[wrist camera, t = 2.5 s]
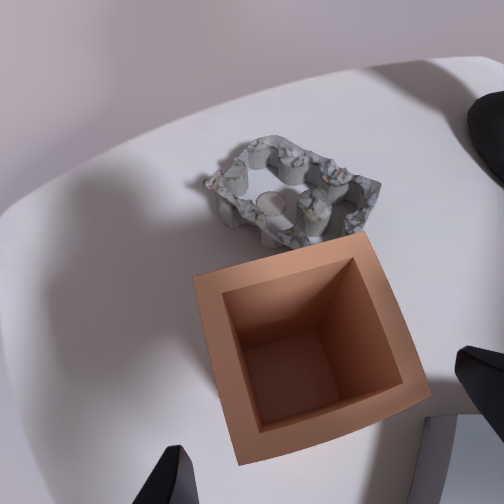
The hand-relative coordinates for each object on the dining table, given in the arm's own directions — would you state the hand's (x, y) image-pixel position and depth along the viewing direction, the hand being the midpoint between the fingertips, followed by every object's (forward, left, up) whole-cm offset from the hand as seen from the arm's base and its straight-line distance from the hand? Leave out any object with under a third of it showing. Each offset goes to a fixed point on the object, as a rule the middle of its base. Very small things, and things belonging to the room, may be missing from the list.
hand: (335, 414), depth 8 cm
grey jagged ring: (+14, +3, -10) cm, 17 cm away
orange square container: (+2, +1, -10) cm, 10 cm away
